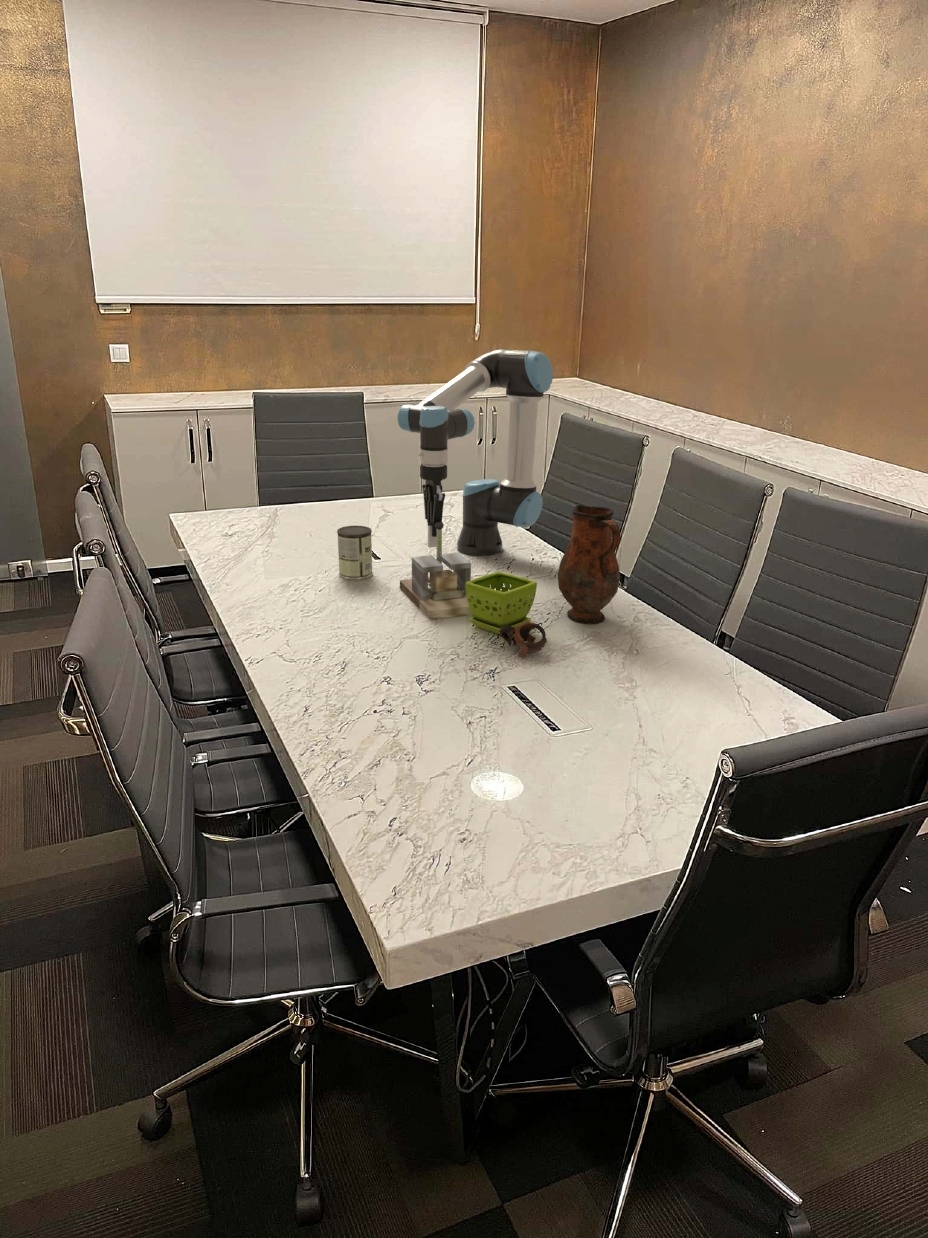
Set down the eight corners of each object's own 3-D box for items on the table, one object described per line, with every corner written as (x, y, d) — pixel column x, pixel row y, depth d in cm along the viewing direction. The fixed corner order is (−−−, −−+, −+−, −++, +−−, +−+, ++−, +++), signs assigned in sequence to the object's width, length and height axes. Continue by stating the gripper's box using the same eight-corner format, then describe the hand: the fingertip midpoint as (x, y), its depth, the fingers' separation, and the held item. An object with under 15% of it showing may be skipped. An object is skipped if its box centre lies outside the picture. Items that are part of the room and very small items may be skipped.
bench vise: (451, 582, 277) (451, 544, 272) (484, 613, 253) (485, 571, 249) (399, 588, 271) (399, 548, 267) (429, 619, 248) (429, 577, 244)
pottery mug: (545, 644, 235) (552, 624, 228) (536, 672, 229) (544, 653, 222) (500, 629, 235) (506, 609, 229) (490, 657, 229) (496, 637, 223)
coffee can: (342, 568, 288) (341, 524, 283) (375, 570, 287) (374, 526, 282) (335, 579, 278) (333, 533, 273) (368, 580, 277) (367, 535, 272)
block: (449, 589, 264) (449, 569, 261) (456, 596, 258) (457, 575, 256) (429, 591, 261) (429, 571, 259) (436, 598, 256) (436, 578, 254)
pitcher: (596, 603, 262) (603, 499, 251) (637, 629, 244) (646, 518, 233) (543, 610, 256) (549, 504, 245) (581, 637, 238) (589, 524, 227)
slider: (452, 586, 265) (453, 518, 258) (464, 596, 257) (465, 527, 250) (422, 589, 262) (422, 521, 255) (433, 600, 254) (434, 530, 247)
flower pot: (537, 626, 245) (539, 581, 240) (502, 641, 235) (504, 594, 230) (497, 613, 253) (498, 569, 249) (462, 626, 244) (463, 581, 239)
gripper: (413, 460, 259) (413, 541, 267) (428, 469, 248) (427, 554, 256) (438, 458, 261) (438, 539, 270) (454, 468, 250) (453, 551, 259)
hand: (433, 546), depth 263 cm, fingers closed
